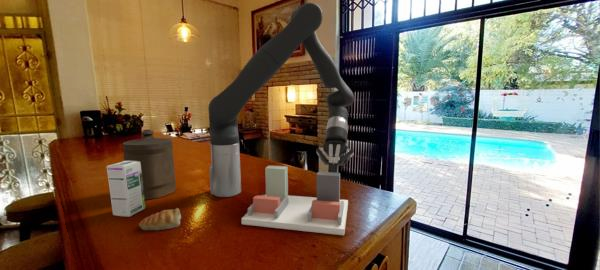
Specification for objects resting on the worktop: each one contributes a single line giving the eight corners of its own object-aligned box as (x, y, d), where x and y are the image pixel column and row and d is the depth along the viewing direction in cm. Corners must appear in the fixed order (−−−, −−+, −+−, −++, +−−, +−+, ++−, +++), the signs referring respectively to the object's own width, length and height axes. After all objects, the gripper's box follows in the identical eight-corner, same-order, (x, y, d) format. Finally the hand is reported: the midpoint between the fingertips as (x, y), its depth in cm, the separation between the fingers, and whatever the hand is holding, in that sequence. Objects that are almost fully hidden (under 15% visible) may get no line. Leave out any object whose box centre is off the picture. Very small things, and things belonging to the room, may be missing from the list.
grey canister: (176, 183, 100) (171, 126, 97) (176, 195, 86) (171, 130, 83) (130, 189, 93) (124, 128, 90) (123, 203, 80) (115, 133, 77)
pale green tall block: (266, 200, 77) (265, 168, 76) (269, 196, 80) (268, 165, 79) (285, 202, 76) (284, 169, 75) (288, 198, 79) (287, 166, 77)
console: (241, 224, 66) (240, 203, 65) (266, 198, 83) (266, 181, 83) (344, 235, 60) (344, 213, 59) (348, 204, 77) (348, 187, 77)
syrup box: (129, 217, 71) (124, 165, 69) (111, 215, 72) (105, 164, 70) (146, 208, 76) (141, 160, 74) (129, 207, 77) (124, 160, 75)
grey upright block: (316, 210, 70) (316, 174, 69) (318, 205, 73) (318, 171, 72) (338, 212, 69) (339, 176, 67) (339, 207, 72) (340, 172, 70)
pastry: (137, 235, 61) (136, 220, 61) (142, 223, 67) (140, 209, 67) (181, 227, 65) (179, 213, 64) (181, 216, 71) (180, 203, 71)
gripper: (317, 125, 90) (310, 168, 79) (355, 125, 87) (353, 170, 76) (319, 137, 95) (313, 179, 85) (355, 139, 92) (353, 182, 82)
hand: (332, 175), depth 81 cm, fingers closed
